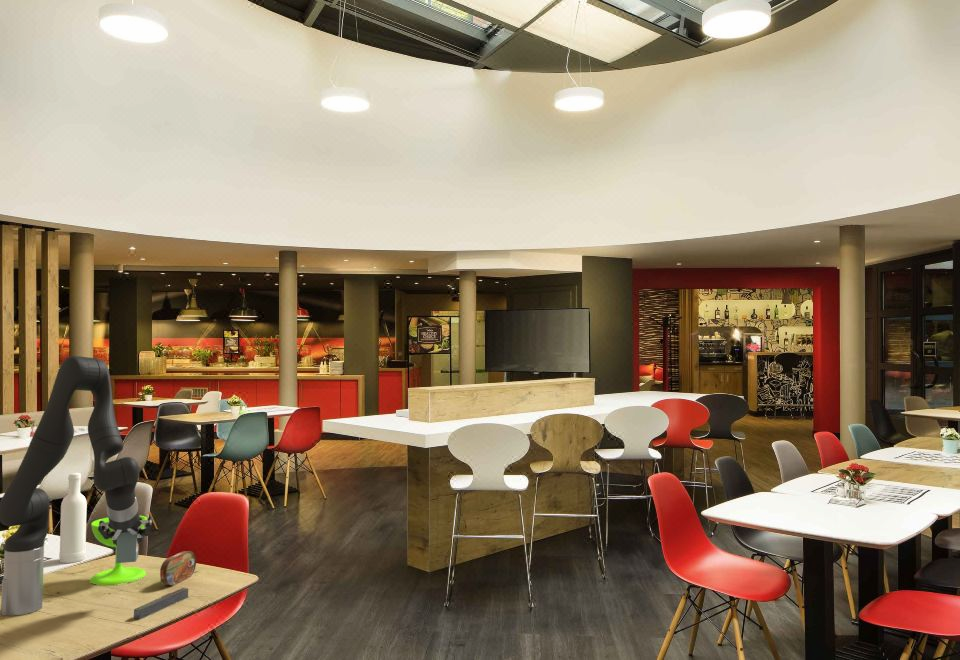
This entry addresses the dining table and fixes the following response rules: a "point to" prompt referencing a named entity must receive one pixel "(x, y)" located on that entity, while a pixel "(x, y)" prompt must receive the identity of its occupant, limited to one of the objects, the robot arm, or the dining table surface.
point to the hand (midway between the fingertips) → (128, 542)
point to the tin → (178, 568)
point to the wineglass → (119, 572)
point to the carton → (126, 548)
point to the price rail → (160, 603)
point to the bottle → (73, 523)
